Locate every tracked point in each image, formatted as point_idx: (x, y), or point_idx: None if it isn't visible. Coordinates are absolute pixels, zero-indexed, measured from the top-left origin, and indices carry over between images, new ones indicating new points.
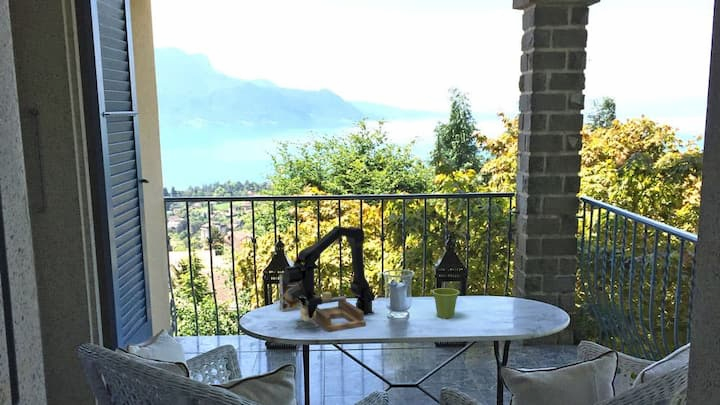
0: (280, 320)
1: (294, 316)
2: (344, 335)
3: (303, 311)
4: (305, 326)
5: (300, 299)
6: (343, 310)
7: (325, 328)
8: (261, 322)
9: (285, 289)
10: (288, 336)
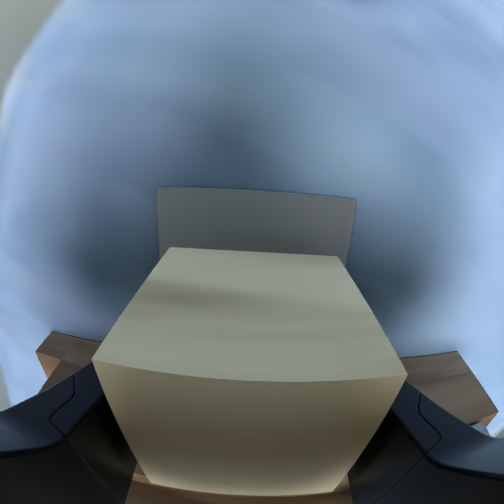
0: (493, 125)
1: (497, 267)
2: (11, 358)
3: (180, 323)
4: (197, 235)
5: (489, 501)
6: (312, 494)
7: (91, 346)
8: (492, 2)
9: None
10: (64, 24)
